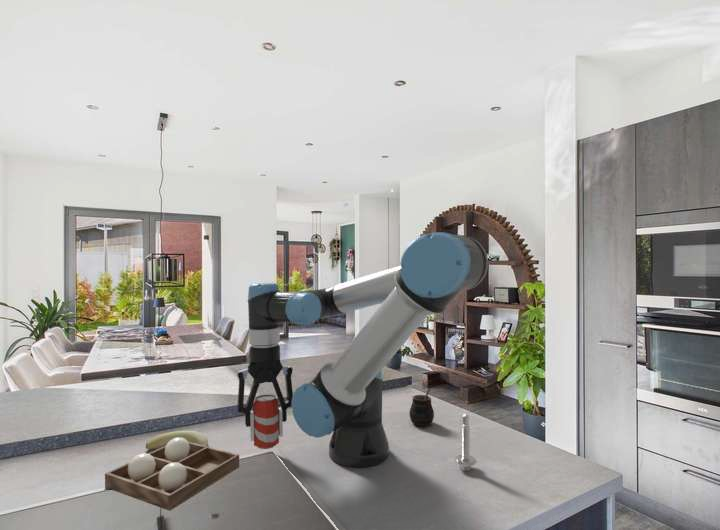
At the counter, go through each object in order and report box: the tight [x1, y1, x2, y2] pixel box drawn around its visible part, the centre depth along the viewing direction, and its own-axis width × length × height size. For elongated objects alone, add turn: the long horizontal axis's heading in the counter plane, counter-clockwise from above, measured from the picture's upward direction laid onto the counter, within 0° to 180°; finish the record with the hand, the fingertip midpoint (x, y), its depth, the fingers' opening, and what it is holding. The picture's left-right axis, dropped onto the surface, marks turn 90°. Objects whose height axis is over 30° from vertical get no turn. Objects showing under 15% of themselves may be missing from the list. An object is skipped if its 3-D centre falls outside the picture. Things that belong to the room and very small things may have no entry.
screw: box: [454, 413, 477, 472], centre depth 103 cm, size 13×5×5 cm
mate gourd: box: [409, 387, 435, 428], centre depth 131 cm, size 7×8×10 cm
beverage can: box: [252, 393, 280, 450], centre depth 110 cm, size 6×6×12 cm
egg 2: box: [165, 437, 190, 462], centre depth 106 cm, size 6×6×6 cm
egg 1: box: [128, 452, 156, 481], centre depth 97 cm, size 6×6×6 cm
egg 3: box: [158, 462, 187, 492], centre depth 93 cm, size 6×6×6 cm
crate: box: [104, 442, 240, 512], centre depth 99 cm, size 20×20×3 cm
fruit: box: [145, 429, 209, 450], centre depth 116 cm, size 7×15×3 cm, turn 95°
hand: (266, 436), depth 110 cm, fingers closed on beverage can, 6 cm apart
